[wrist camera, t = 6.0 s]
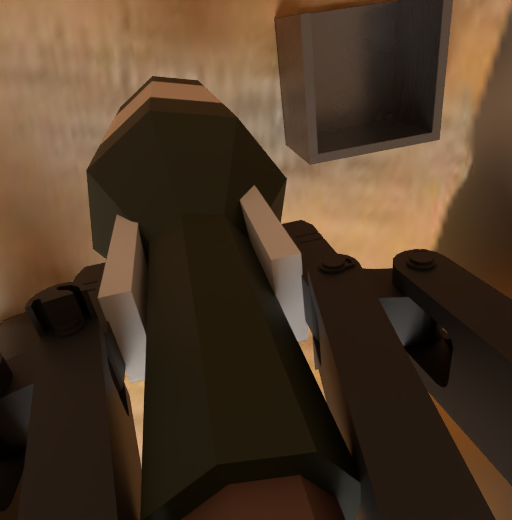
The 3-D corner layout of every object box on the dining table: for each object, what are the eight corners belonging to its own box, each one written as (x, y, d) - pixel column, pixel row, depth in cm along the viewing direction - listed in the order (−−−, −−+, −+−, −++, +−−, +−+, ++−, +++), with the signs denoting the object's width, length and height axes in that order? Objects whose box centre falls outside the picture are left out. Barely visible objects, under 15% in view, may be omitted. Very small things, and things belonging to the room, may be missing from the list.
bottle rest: (285, 144, 43) (309, 164, 36) (274, 18, 38) (300, 14, 31) (396, 124, 45) (439, 139, 38) (401, 0, 39) (453, -9, 32)
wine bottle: (96, 95, 29) (-457, 595, 3) (208, 56, 29) (630, 184, 3) (145, 201, 33) (106, 789, 7) (242, 166, 33) (545, 603, 7)
